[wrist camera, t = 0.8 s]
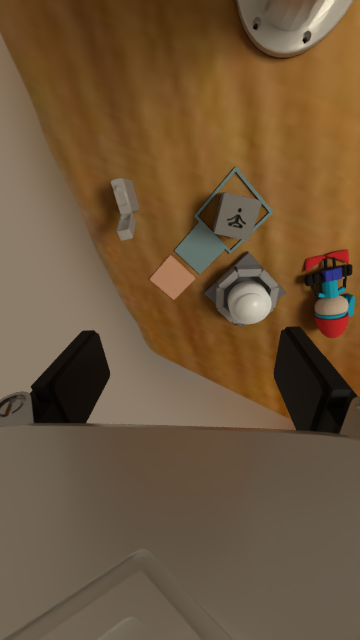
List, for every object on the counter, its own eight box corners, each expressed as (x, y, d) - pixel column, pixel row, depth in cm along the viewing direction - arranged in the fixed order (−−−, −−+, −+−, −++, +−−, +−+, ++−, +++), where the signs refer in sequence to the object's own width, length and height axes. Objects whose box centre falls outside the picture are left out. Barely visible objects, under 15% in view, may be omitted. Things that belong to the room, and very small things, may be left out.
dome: (249, 272, 33) (254, 280, 30) (274, 298, 35) (281, 308, 32) (219, 299, 36) (221, 308, 33) (244, 322, 38) (247, 333, 35)
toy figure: (295, 259, 37) (305, 336, 41) (310, 261, 32) (319, 347, 37) (342, 246, 36) (347, 326, 40) (364, 246, 31) (367, 337, 36)
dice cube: (212, 228, 34) (214, 233, 30) (221, 192, 31) (224, 192, 27) (243, 235, 34) (249, 241, 30) (254, 199, 31) (262, 200, 27)
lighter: (121, 182, 32) (98, 179, 25) (131, 179, 32) (112, 175, 25) (135, 232, 35) (119, 241, 28) (145, 230, 35) (131, 238, 28)
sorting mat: (235, 166, 30) (235, 166, 29) (273, 212, 32) (273, 212, 32) (144, 274, 39) (144, 274, 39) (178, 303, 41) (178, 304, 41)
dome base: (247, 251, 35) (251, 255, 33) (284, 290, 38) (290, 297, 35) (204, 291, 39) (204, 298, 37) (240, 324, 42) (242, 332, 40)
